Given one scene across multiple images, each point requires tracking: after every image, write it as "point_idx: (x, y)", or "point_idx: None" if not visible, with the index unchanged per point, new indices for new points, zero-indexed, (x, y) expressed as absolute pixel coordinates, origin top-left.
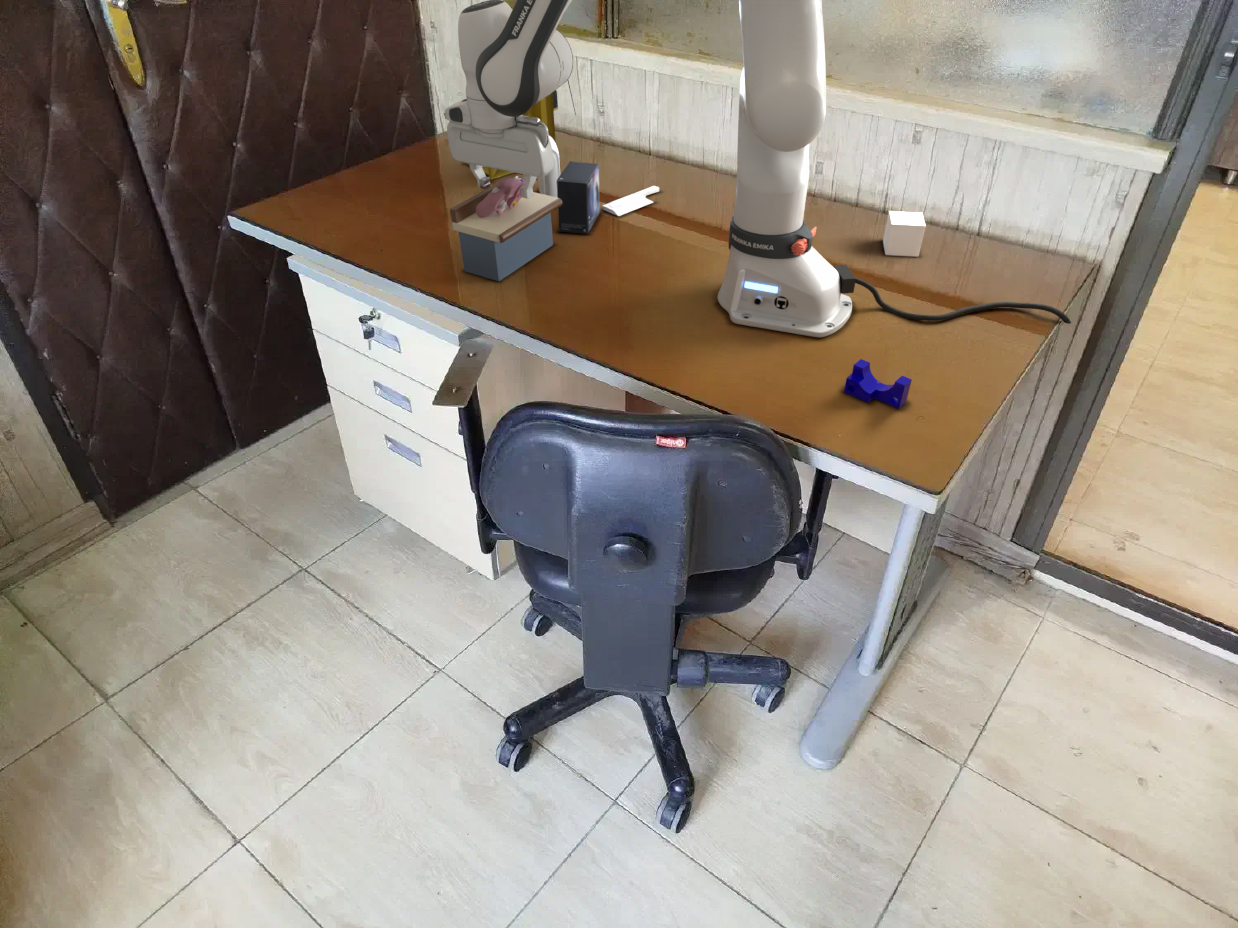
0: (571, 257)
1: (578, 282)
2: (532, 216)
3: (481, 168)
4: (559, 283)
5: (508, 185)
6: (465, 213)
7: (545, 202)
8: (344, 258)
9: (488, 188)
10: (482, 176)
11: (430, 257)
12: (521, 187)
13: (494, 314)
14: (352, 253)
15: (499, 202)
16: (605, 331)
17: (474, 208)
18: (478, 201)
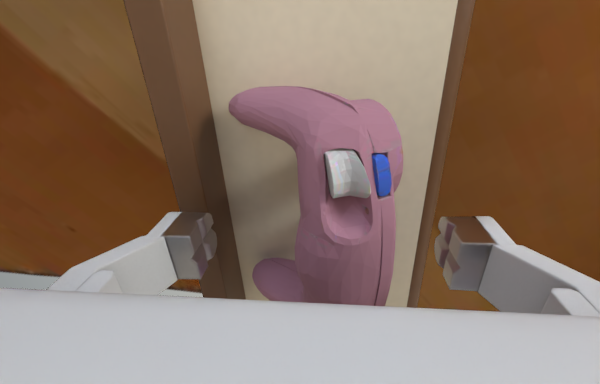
0: None
1: (540, 142)
2: (438, 176)
3: (115, 267)
4: (493, 168)
5: (376, 298)
6: (238, 294)
7: (426, 21)
8: (61, 275)
9: (175, 171)
10: (163, 261)
11: (165, 208)
12: (453, 278)
13: (420, 303)
14: (50, 258)
15: None
16: None
17: (232, 258)
18: (222, 248)
